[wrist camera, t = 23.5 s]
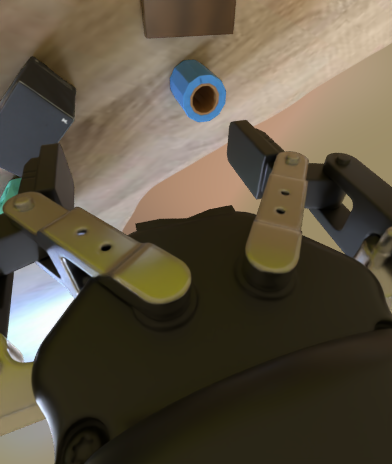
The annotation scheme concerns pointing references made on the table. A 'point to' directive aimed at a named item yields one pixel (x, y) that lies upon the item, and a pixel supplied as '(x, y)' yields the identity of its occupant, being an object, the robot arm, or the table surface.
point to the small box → (33, 114)
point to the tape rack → (187, 17)
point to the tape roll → (208, 90)
